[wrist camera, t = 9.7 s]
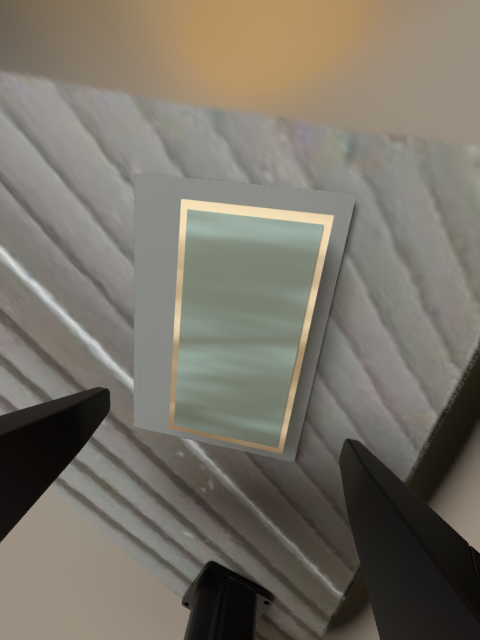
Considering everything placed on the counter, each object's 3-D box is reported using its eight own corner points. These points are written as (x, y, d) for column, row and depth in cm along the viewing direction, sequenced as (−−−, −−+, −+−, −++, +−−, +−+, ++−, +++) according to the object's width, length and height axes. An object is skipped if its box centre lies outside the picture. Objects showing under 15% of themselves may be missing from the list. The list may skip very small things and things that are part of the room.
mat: (293, 457, 16) (294, 462, 16) (136, 423, 18) (133, 426, 17) (354, 196, 12) (356, 194, 12) (138, 175, 13) (134, 173, 13)
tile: (282, 455, 12) (334, 214, 9) (167, 429, 13) (180, 198, 10) (280, 418, 15) (320, 226, 12) (187, 398, 16) (202, 212, 13)
